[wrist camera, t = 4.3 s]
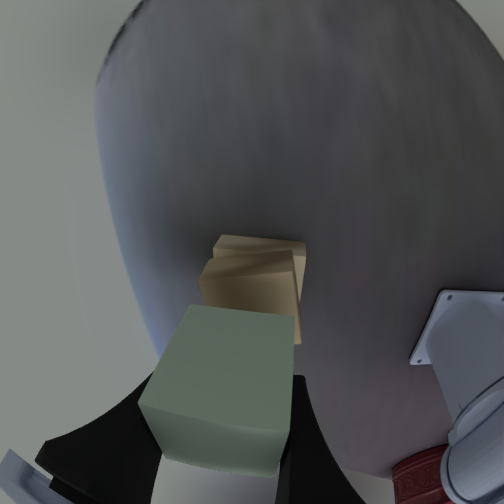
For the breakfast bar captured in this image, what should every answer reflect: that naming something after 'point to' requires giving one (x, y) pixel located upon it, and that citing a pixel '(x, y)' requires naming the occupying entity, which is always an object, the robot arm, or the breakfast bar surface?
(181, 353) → the block
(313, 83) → the breakfast bar surface
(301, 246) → the slab bottom
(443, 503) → the canister
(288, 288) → the slab top
